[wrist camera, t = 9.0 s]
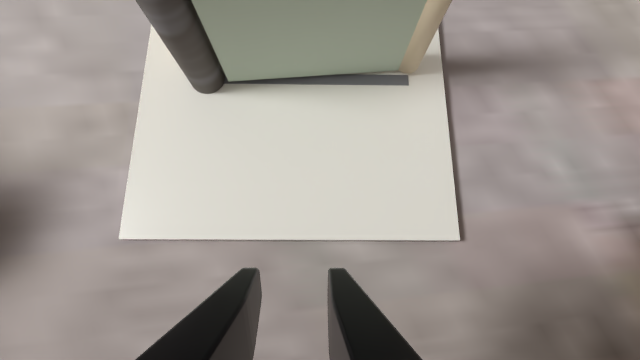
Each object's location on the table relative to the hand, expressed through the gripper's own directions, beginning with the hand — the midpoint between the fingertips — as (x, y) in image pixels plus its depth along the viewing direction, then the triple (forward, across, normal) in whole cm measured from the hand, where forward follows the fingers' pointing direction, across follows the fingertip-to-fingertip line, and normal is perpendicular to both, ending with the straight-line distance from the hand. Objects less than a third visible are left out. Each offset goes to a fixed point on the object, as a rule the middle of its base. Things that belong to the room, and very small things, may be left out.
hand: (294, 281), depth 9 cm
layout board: (+20, -1, +2) cm, 20 cm away
